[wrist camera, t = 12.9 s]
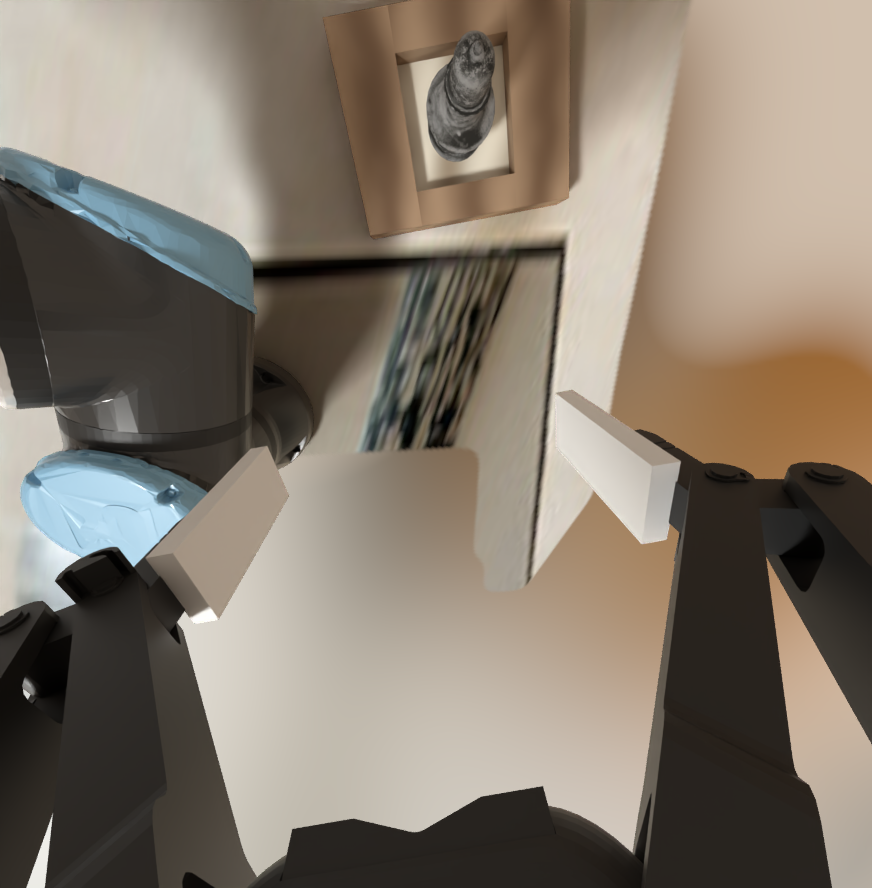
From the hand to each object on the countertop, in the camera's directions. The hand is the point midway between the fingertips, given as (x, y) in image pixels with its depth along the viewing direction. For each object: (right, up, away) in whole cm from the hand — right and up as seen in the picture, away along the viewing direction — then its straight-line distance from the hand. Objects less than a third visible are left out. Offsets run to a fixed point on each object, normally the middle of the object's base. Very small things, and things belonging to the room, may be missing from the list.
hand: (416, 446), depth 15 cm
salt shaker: (+3, +30, +16) cm, 34 cm away
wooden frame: (+3, +31, +17) cm, 35 cm away
